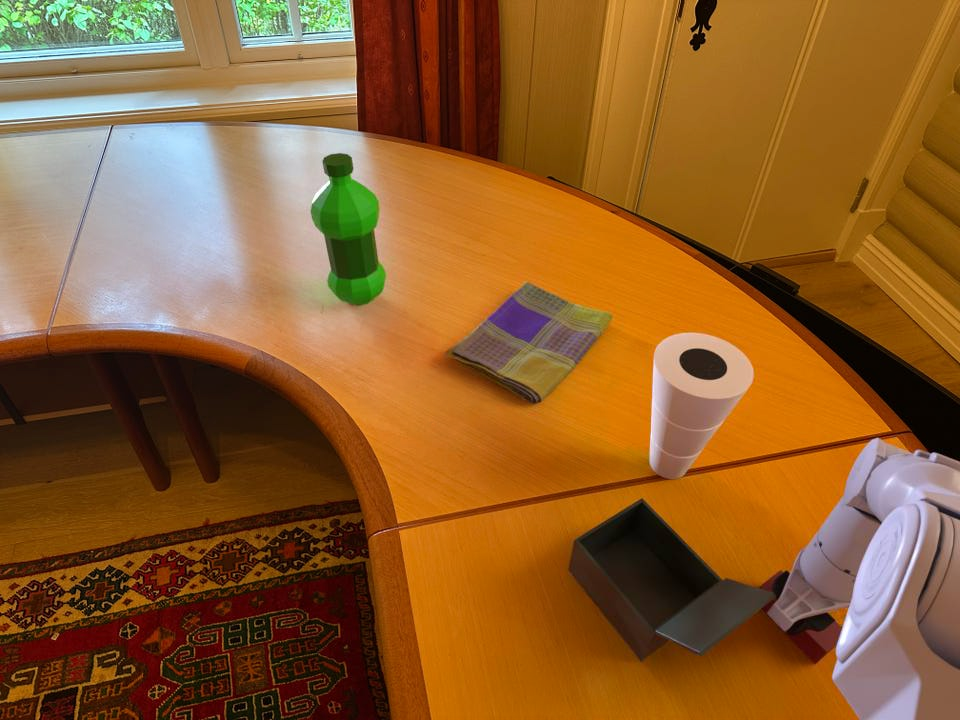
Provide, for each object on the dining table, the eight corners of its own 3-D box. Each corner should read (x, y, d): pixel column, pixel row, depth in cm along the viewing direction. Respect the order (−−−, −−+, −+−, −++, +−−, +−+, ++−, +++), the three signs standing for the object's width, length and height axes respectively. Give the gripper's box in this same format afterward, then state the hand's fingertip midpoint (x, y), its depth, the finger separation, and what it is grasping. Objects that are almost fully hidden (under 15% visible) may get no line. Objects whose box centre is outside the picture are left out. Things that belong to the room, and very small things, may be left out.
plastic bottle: (375, 319, 101) (354, 179, 84) (319, 307, 103) (287, 169, 86) (399, 285, 108) (384, 150, 91) (346, 275, 110) (321, 141, 93)
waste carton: (708, 610, 65) (724, 582, 60) (640, 662, 61) (653, 635, 57) (632, 528, 72) (642, 497, 68) (567, 569, 68) (573, 539, 64)
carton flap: (726, 577, 60) (727, 581, 60) (654, 630, 56) (656, 634, 56) (774, 592, 55) (776, 596, 55) (699, 652, 51) (701, 656, 51)
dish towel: (616, 326, 100) (619, 312, 98) (534, 412, 86) (535, 399, 84) (528, 287, 108) (529, 274, 106) (440, 361, 93) (439, 347, 92)
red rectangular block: (836, 645, 62) (848, 633, 60) (815, 664, 61) (827, 652, 59) (771, 582, 67) (780, 569, 65) (750, 599, 66) (759, 586, 64)
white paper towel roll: (726, 467, 79) (772, 367, 66) (677, 513, 74) (717, 414, 61) (659, 420, 85) (690, 320, 72) (610, 460, 79) (634, 360, 67)
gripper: (843, 630, 48) (784, 691, 58) (941, 542, 54) (873, 611, 63) (770, 561, 53) (726, 628, 62) (868, 487, 59) (814, 558, 68)
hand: (797, 616), depth 63 cm, fingers closed on red rectangular block, 3 cm apart
